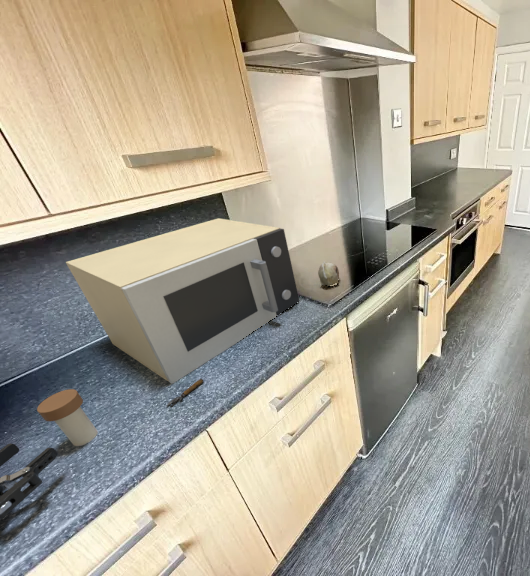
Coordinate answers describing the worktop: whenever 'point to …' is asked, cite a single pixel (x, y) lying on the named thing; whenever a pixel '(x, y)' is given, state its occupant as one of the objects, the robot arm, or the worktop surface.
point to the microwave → (162, 257)
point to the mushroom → (68, 416)
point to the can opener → (186, 392)
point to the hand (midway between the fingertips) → (34, 448)
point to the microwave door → (203, 307)
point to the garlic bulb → (328, 274)
